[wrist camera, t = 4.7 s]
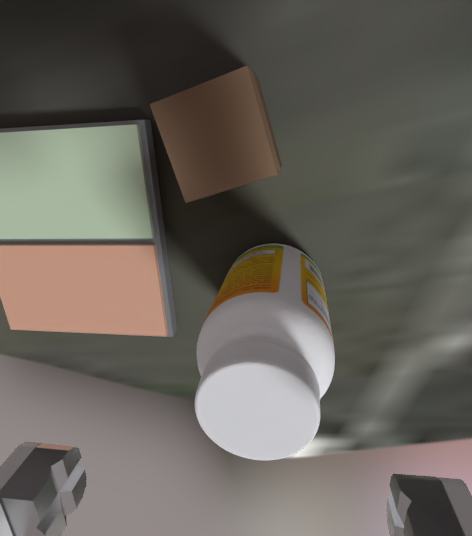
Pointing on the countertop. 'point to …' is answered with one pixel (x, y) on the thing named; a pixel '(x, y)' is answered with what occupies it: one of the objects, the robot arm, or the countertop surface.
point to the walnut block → (218, 135)
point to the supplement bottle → (265, 355)
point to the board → (83, 230)
